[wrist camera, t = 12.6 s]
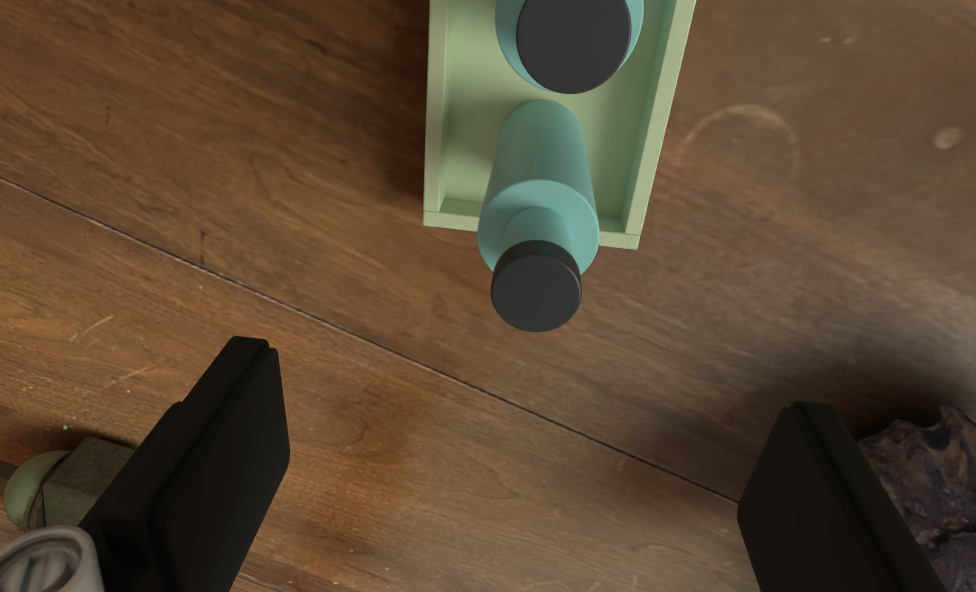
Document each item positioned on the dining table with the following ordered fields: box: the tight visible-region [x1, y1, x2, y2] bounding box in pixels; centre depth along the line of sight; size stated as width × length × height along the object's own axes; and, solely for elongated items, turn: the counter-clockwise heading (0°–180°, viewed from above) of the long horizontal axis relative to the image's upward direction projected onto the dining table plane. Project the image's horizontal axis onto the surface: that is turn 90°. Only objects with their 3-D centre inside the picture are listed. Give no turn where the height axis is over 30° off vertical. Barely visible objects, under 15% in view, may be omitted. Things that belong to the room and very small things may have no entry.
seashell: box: [856, 404, 976, 592], centre depth 31 cm, size 20×13×15 cm
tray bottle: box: [495, 0, 644, 94], centre depth 19 cm, size 4×4×15 cm
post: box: [4, 436, 136, 532], centre depth 48 cm, size 11×6×30 cm
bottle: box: [477, 100, 600, 332], centre depth 23 cm, size 4×4×15 cm
